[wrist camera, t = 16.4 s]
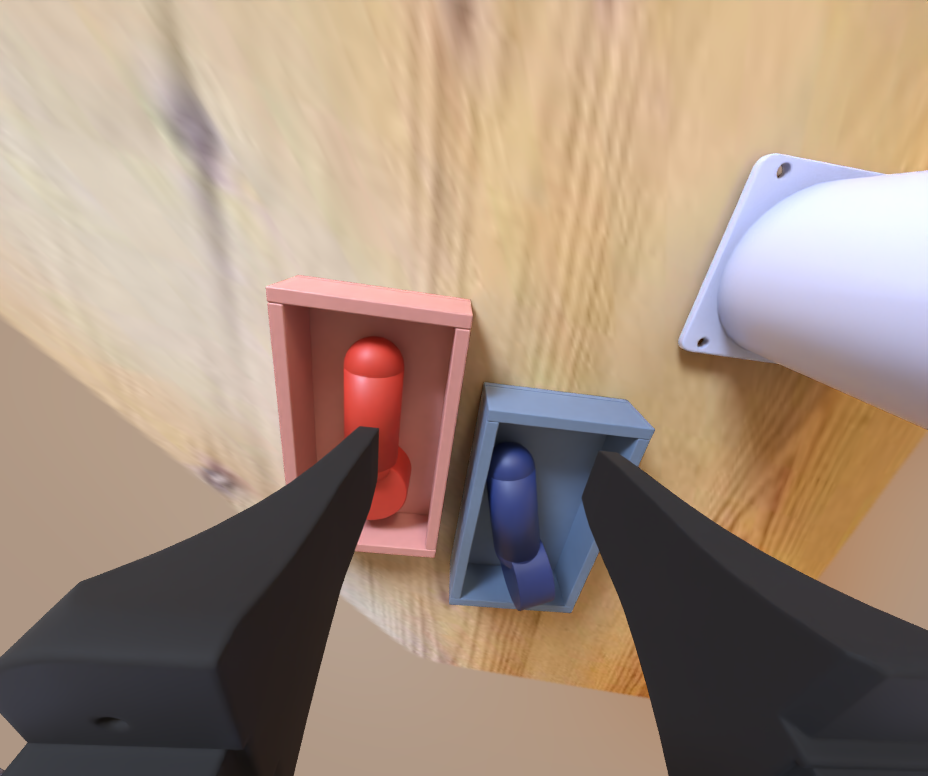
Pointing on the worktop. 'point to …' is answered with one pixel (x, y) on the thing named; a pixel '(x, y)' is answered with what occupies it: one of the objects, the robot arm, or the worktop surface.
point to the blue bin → (540, 485)
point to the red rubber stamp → (378, 415)
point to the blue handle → (518, 526)
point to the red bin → (322, 387)
